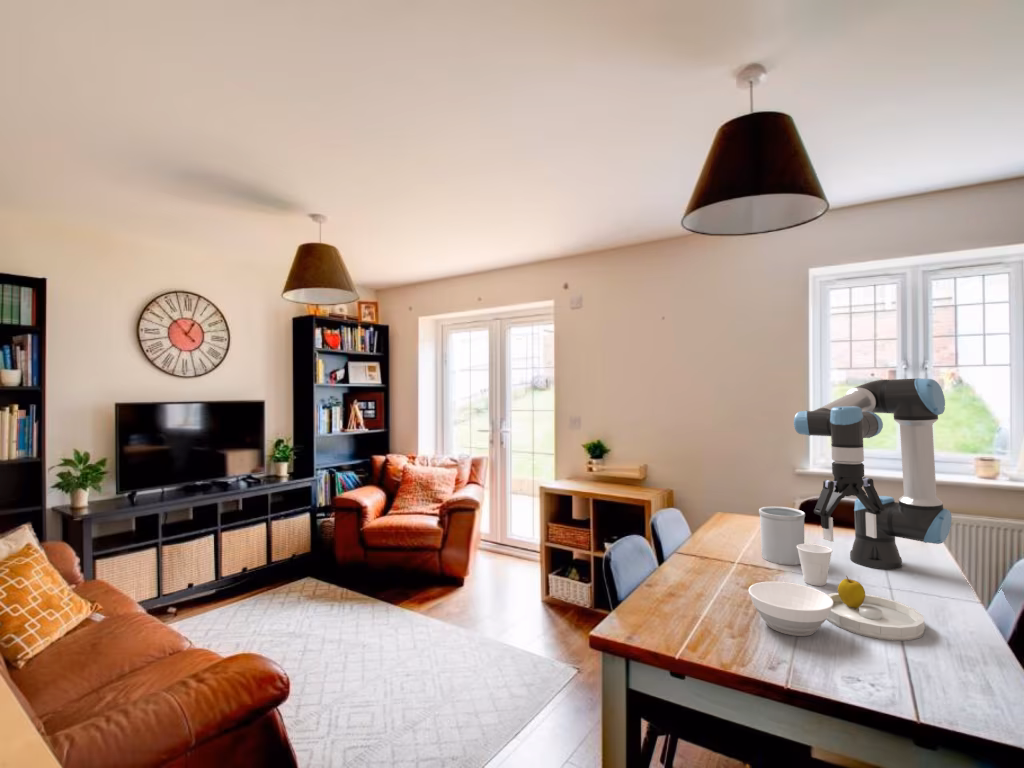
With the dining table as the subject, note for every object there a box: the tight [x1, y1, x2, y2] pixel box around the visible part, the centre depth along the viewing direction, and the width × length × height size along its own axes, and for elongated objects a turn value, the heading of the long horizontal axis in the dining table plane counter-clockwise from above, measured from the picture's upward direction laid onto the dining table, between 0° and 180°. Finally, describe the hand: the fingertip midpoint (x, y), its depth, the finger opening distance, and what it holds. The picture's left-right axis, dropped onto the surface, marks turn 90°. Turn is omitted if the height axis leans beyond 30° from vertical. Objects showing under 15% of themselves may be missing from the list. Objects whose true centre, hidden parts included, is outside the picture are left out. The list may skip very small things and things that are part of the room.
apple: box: [837, 575, 866, 608], centre depth 144 cm, size 6×6×8 cm
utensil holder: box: [758, 506, 806, 566], centre depth 189 cm, size 15×15×18 cm
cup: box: [797, 543, 833, 587], centre depth 165 cm, size 10×10×11 cm
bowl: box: [748, 581, 833, 637], centre depth 134 cm, size 19×19×8 cm
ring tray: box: [825, 592, 926, 642], centre depth 137 cm, size 22×22×3 cm
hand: (850, 538), depth 144 cm, fingers open, 13 cm apart
